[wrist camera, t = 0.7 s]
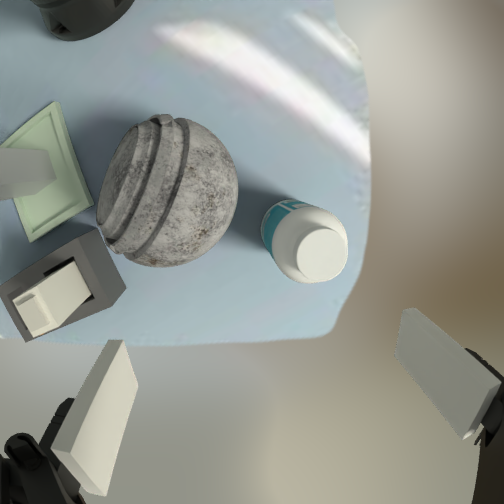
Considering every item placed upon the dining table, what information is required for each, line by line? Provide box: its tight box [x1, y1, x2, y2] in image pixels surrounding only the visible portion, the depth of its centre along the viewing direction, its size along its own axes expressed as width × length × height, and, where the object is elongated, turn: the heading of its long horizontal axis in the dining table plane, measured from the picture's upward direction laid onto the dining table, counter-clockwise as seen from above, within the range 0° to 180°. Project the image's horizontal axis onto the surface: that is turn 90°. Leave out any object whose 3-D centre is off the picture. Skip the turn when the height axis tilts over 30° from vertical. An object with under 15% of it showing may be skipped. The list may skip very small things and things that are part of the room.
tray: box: [0, 101, 94, 243], centre depth 32 cm, size 16×12×2 cm
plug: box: [0, 148, 57, 201], centre depth 26 cm, size 4×4×13 cm
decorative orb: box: [96, 114, 238, 267], centre depth 28 cm, size 15×14×15 cm
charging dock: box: [0, 228, 126, 342], centre depth 29 cm, size 9×18×15 cm, turn 112°
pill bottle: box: [261, 200, 348, 284], centre depth 31 cm, size 8×7×14 cm
